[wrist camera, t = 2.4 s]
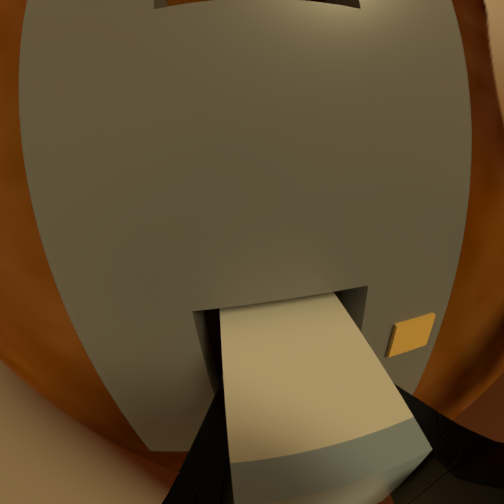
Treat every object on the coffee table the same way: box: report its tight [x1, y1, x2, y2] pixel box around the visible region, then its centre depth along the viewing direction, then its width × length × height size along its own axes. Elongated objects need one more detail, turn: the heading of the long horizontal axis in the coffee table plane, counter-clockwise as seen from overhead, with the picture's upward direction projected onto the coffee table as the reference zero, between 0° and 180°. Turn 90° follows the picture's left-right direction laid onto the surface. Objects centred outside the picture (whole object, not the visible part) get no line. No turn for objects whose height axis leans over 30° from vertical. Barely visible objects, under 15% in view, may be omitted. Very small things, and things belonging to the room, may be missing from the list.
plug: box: [220, 292, 432, 504], centre depth 8 cm, size 4×4×8 cm
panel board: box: [19, 0, 471, 451], centre depth 8 cm, size 14×26×3 cm, turn 5°
